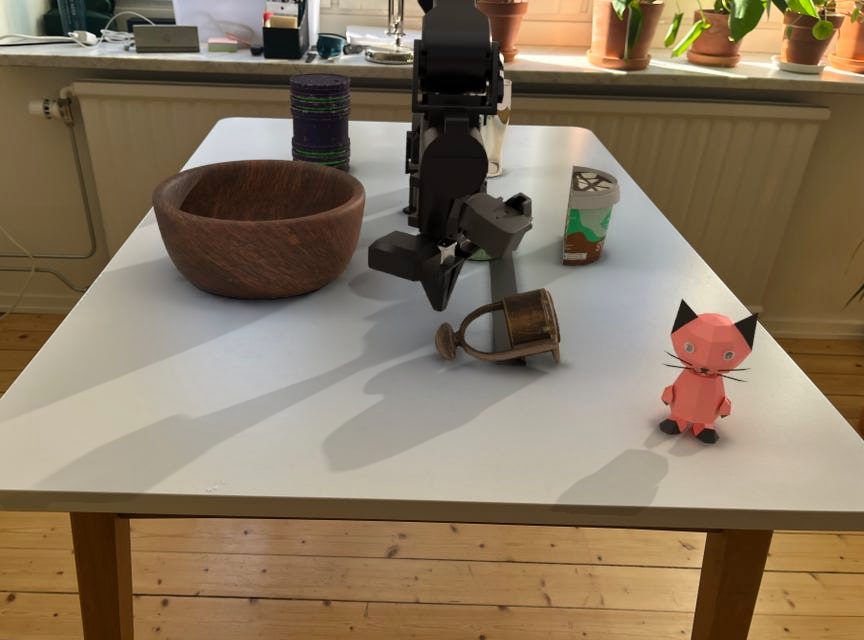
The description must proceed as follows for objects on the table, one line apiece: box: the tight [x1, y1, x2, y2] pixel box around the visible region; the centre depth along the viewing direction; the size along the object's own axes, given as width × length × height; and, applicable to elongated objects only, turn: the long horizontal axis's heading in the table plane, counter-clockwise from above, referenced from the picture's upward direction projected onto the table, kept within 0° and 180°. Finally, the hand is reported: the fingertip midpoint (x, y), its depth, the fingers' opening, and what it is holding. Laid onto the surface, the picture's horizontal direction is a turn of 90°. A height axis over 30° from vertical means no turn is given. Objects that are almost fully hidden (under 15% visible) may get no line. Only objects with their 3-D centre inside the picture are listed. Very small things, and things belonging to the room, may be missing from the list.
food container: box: [561, 165, 621, 266], centre depth 106 cm, size 12×6×10 cm, turn 168°
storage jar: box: [289, 72, 352, 174], centre depth 135 cm, size 10×10×15 cm
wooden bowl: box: [151, 158, 367, 300], centre depth 99 cm, size 25×25×10 cm
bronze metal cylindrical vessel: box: [434, 287, 562, 365], centre depth 82 cm, size 7×13×10 cm
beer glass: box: [469, 78, 513, 178], centre depth 136 cm, size 7×7×15 cm
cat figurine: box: [658, 298, 759, 444], centre depth 70 cm, size 7×7×12 cm
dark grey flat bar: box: [489, 251, 527, 367], centre depth 98 cm, size 38×3×1 cm, turn 175°
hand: (439, 310), depth 87 cm, fingers closed
